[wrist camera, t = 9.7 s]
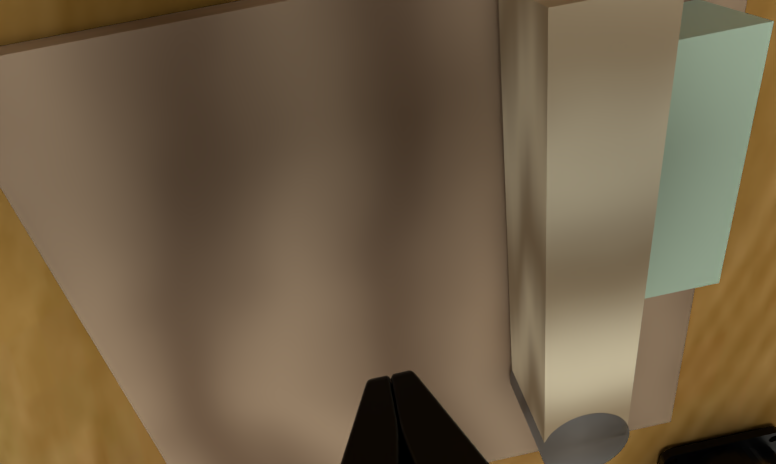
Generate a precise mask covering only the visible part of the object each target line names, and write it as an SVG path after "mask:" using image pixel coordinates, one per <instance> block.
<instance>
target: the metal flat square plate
mask: <svg viewBox="0 0 776 464" xmlns="http://www.w3.org/2000/svg"><path fill="white" fill-rule="evenodd" d="M687 1H692V0H684V2H687ZM703 1H706V2H710V3H713V4H716V5H720V6H723V7H727V8H730V9H734V10H737V11H741V12H744V13H745V9H746V3H747V0H703ZM0 188H1V189H2V191H3V193H4V194H5V196H6V198H7V199H8V201H9V203H10V204H11V206H12V208H13V209H14V211H15V213H16V214H17V216H18V218H19V219H20V221H21V223H22V224H23V226H24V228H25V229H26V231H27V233H28V234H29V236H30V237H31V239H32V241H33V242H34V244H35V246H36V247H37V249H38V251H39V252H40V254H41V256H42V257H43V259H44V261H45V262H46V264H47V266H48V267H49V269H50V271H51V272H52V274H53V276H54V277H55V279H56V281H57V282H58V284H59V286H60V287H61V289H62V291H63V292H64V294H65V296H66V297H67V299H68V301H69V302H70V304H71V306H72V307H73V309H74V311H75V312H76V314H77V316H78V317H79V319H80V321H81V322H82V324H83V325H84V327H85V329H86V330H87V332H88V334H89V335H90V337H91V339H92V340H93V342H94V344H95V345H96V347H97V349H98V350H99V352H100V354H101V355H102V357H103V359H104V360H105V362H106V364H107V365H108V367H109V369H110V370H111V372H112V374H113V375H114V377H115V379H116V380H117V382H118V384H119V385H120V387H121V389H122V390H123V392H124V394H125V395H126V397H127V399H128V400H129V402H130V404H131V405H132V407H133V409H134V410H135V412H136V413H137V415H138V417H139V418H140V420H141V422H142V423H143V425H144V427H145V428H146V430H147V432H148V433H149V435H150V437H151V438H152V440H153V442H154V443H155V445H156V447H157V448H158V450H159V452H160V453H161V455H162V457H163V458H164V460H165V462H166V463H167V464H341V461H342V458H343V454H344V451H345V448H346V445H347V442H348V439H349V435H350V432H351V429H352V426H353V423H354V420H355V416H356V413H357V410H358V407H359V404H360V401H361V397H362V394H363V391H364V388H365V385H366V382H367V381H368V380H369V379H372V378H377V377H381V376H389V377H390V379H391V376H392V375H393V374H395V373H400V372H404V371H409V370H411V371H413V372H414V373H415V374H416V375H417V376H418V377H419V378H420V380H421V381H422V382H423V383H424V385H425V386H426V387H427V388H428V389H429V391H430V392H431V393H432V394H433V396H434V397H435V398H436V399H437V400H438V402H439V403H440V404H441V405H442V407H443V408H444V409H445V410H446V411H447V413H448V414H449V415H450V416H451V418H452V419H453V420H454V421H455V422H456V424H457V425H458V426H459V427H460V429H461V430H462V431H463V432H464V433H465V435H466V436H467V437H468V438H469V440H470V441H471V442H472V443H473V444H474V446H475V447H476V448H477V449H478V451H479V452H480V453H481V454H482V455H483V457H484V458H485V459H486V460H487V462H491V461H496V460H500V459H505V458H509V457H514V456H518V455H523V454H527V453H532V452H536V451H539V450H538V447H537V445H536V443H535V440H534V438H533V436H532V433H531V431H530V429H529V426H528V424H527V421H526V419H525V417H524V414H523V412H522V410H521V407H520V405H519V403H518V400H517V398H516V396H515V393H514V391H513V389H512V386H511V383H510V374H511V371H512V356H511V329H510V301H509V274H508V247H507V219H506V192H505V164H504V137H503V110H502V82H501V55H500V28H499V0H240V1H234V2H229V3H224V4H219V5H214V6H208V7H203V8H198V9H193V10H187V11H182V12H177V13H172V14H167V15H161V16H156V17H151V18H146V19H140V20H135V21H130V22H125V23H120V24H114V25H109V26H104V27H99V28H93V29H88V30H83V31H78V32H73V33H67V34H62V35H57V36H52V37H46V38H41V39H36V40H31V41H26V42H20V43H15V44H10V45H5V46H0ZM694 290H695V288H692V289H688V290H683V291H678V292H674V293H669V294H664V295H660V296H655V297H650V298H646V299H644V306H643V314H642V322H641V329H640V337H639V344H638V352H637V359H636V367H635V375H634V382H633V390H632V397H631V405H630V412H629V420H628V427H629V431H631V430H636V429H640V428H645V427H649V426H654V425H658V424H663V423H667V422H671V417H672V412H673V406H674V401H675V395H676V390H677V384H678V379H679V373H680V368H681V362H682V357H683V351H684V346H685V340H686V335H687V329H688V323H689V318H690V312H691V307H692V301H693V296H694Z"/></svg>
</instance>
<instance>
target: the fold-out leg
mask: <svg viewBox="0 0 776 464" xmlns="http://www.w3.org/2000/svg"><path fill="white" fill-rule="evenodd" d="M683 4H684V0H499V28H500V55H501V82H502V110H503V137H504V164H505V192H506V219H507V247H508V274H509V301H510V329H511V356H512V371H511V374H510V383H511V386H512V389H513V391H514V393H515V396H516V398H517V400H518V403H519V405H520V407H521V410H522V412H523V414H524V417H525V419H526V421H527V424H528V426H529V429H530V431H531V433H532V436H533V438H534V440H535V443H536V445H537V447H538V450H539V452H540V454H541V457H542V459H543V461H544V463H545V464H604V463H606V462H608V461H609V460H611V459H612V458H613V457H615V456H616V455H617V454H618V453H619V452H620V451H621V450H622V449H623V447H624V446H625V444H626V443H627V440H628V438H629V427H628V420H629V412H630V405H631V397H632V390H633V382H634V375H635V367H636V359H637V352H638V344H639V337H640V329H641V322H642V314H643V306H644V299H645V291H646V284H647V276H648V269H649V261H650V253H651V246H652V238H653V231H654V223H655V216H656V208H657V200H658V193H659V185H660V178H661V170H662V163H663V155H664V147H665V140H666V132H667V125H668V117H669V110H670V102H671V95H672V87H673V79H674V72H675V64H676V57H677V49H678V42H679V34H680V26H681V19H682V11H683Z"/></svg>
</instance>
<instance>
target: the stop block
mask: <svg viewBox="0 0 776 464" xmlns="http://www.w3.org/2000/svg"><path fill="white" fill-rule="evenodd" d="M773 23H774V21H772V20H768V19H765V18H761V17H758V16H754V15H751V14H748V13H744V12H741V11H737V10H734V9H730V8H727V7H723V6H720V5H716V4H713V3H710V2H706V1H703V0H692V1H687V2H684V4H683V11H682V19H681V26H680V34H679V42H678V49H677V57H676V64H675V72H674V79H673V87H672V95H671V102H670V110H669V117H668V125H667V132H666V140H665V147H664V155H663V163H662V170H661V178H660V185H659V193H658V200H657V208H656V216H655V223H654V231H653V238H652V246H651V253H650V261H649V269H648V276H647V284H646V291H645V299H646V298H650V297H655V296H660V295H664V294H669V293H674V292H678V291H683V290H688V289H692V288H697V287H702V286H706V285H711V284H716V283H719V280H720V276H721V271H722V266H723V261H724V257H725V252H726V247H727V242H728V238H729V233H730V228H731V223H732V218H733V214H734V209H735V204H736V199H737V195H738V190H739V185H740V180H741V176H742V171H743V166H744V161H745V156H746V152H747V147H748V142H749V137H750V133H751V128H752V123H753V118H754V114H755V109H756V104H757V99H758V94H759V90H760V85H761V80H762V75H763V71H764V66H765V61H766V56H767V52H768V47H769V42H770V37H771V32H772V28H773Z"/></svg>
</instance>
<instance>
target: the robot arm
mask: <svg viewBox="0 0 776 464" xmlns="http://www.w3.org/2000/svg"><path fill="white" fill-rule="evenodd" d="M341 464H489V463H488V462H487V460H486V459H485V458H484V457H483V455H482V454H481V453H480V452H479V451H478V449H477V448H476V447H475V446H474V444H473V443H472V442H471V441H470V440H469V438H468V437H467V436H466V435H465V433H464V432H463V431H462V430H461V429H460V427H459V426H458V425H457V424H456V422H455V421H454V420H453V419H452V418H451V416H450V415H449V414H448V413H447V411H446V410H445V409H444V408H443V407H442V405H441V404H440V403H439V402H438V400H437V399H436V398H435V397H434V396H433V394H432V393H431V392H430V391H429V389H428V388H427V387H426V386H425V385H424V383H423V382H422V381H421V380H420V378H419V377H418V376H417V375H416V374H415V373H414V372H413V371H411V370H409V371H404V372H400V373H395V374H393V375H392V376H391V379H390V377H389V376H381V377H377V378H372V379H369V380H368V381H367V382H366V385H365V388H364V391H363V394H362V397H361V401H360V404H359V407H358V410H357V413H356V416H355V420H354V423H353V426H352V429H351V432H350V435H349V439H348V442H347V445H346V448H345V451H344V454H343V458H342V461H341ZM659 464H776V427H774V426H772V427H767V428H762V429H758V430H753V431H749V432H744V433H740V434H735V435H731V436H726V437H722V438H717V439H713V440H708V441H704V442H699V443H695V444H690V445H686V446H681V447H677V448H672V449H669V450H666V451H665V452H663V453H662V454H661V456H660V460H659Z"/></svg>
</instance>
